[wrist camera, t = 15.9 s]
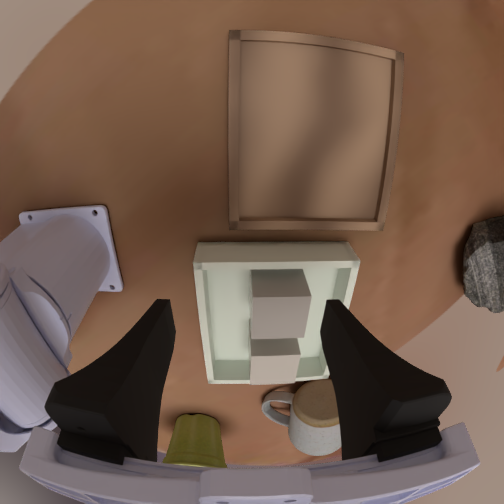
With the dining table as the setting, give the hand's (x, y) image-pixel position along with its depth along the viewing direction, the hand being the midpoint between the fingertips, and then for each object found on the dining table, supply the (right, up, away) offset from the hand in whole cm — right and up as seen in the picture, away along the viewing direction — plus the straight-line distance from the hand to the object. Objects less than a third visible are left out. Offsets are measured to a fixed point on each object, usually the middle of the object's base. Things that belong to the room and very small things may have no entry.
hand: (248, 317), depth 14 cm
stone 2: (+2, -5, +14) cm, 15 cm away
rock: (+27, +3, +12) cm, 30 cm away
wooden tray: (+5, +11, +6) cm, 13 cm away
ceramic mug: (+7, -15, +21) cm, 27 cm away
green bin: (+2, -2, +13) cm, 14 cm away
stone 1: (+2, 0, +11) cm, 12 cm away
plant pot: (-7, -21, +24) cm, 33 cm away
